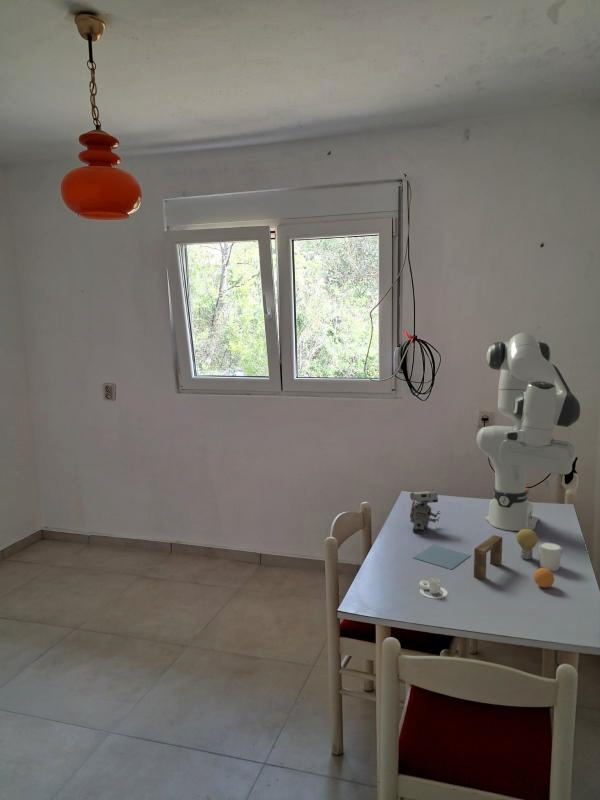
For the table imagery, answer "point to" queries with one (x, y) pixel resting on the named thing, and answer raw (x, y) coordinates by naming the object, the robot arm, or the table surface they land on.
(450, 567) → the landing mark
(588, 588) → the table surface
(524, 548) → the light bulb
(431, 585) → the mug and donut ornament
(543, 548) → the white cylinder
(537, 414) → the robot arm
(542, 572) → the ball
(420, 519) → the figurine
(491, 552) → the bridge
